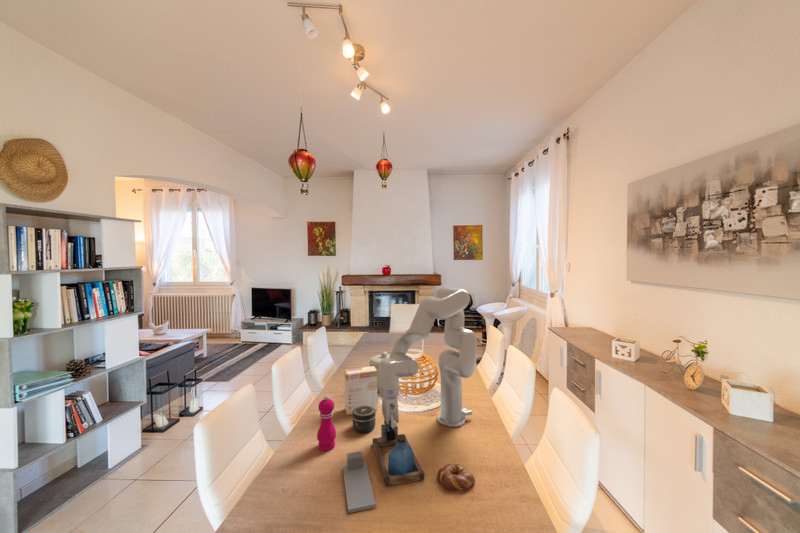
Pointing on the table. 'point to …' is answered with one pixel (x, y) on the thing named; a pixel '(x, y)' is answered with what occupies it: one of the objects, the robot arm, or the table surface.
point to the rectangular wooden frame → (387, 479)
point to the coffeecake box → (360, 388)
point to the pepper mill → (326, 425)
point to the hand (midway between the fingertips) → (389, 436)
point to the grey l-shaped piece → (357, 484)
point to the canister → (376, 363)
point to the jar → (363, 419)
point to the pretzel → (455, 477)
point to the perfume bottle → (400, 457)
